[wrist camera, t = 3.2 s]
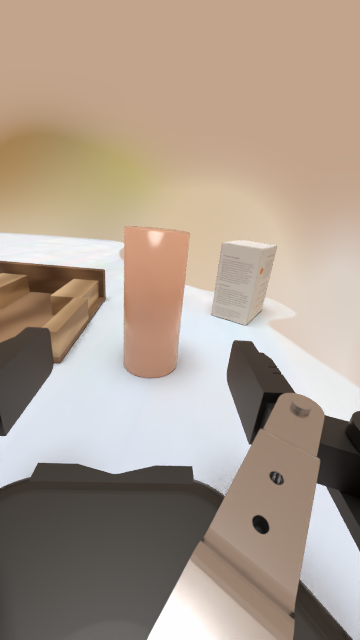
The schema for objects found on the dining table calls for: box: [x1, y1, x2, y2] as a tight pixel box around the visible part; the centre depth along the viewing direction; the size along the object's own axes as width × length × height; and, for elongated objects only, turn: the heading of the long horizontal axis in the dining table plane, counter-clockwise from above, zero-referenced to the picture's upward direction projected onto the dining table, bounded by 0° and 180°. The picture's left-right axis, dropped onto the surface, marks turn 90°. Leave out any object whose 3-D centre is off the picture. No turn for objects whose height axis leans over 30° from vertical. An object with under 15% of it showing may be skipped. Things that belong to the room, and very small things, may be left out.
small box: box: [211, 240, 277, 325], centre depth 37 cm, size 8×6×10 cm
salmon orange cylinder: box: [124, 226, 190, 378], centre depth 22 cm, size 5×5×12 cm
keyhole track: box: [0, 261, 106, 363], centre depth 29 cm, size 15×18×5 cm
